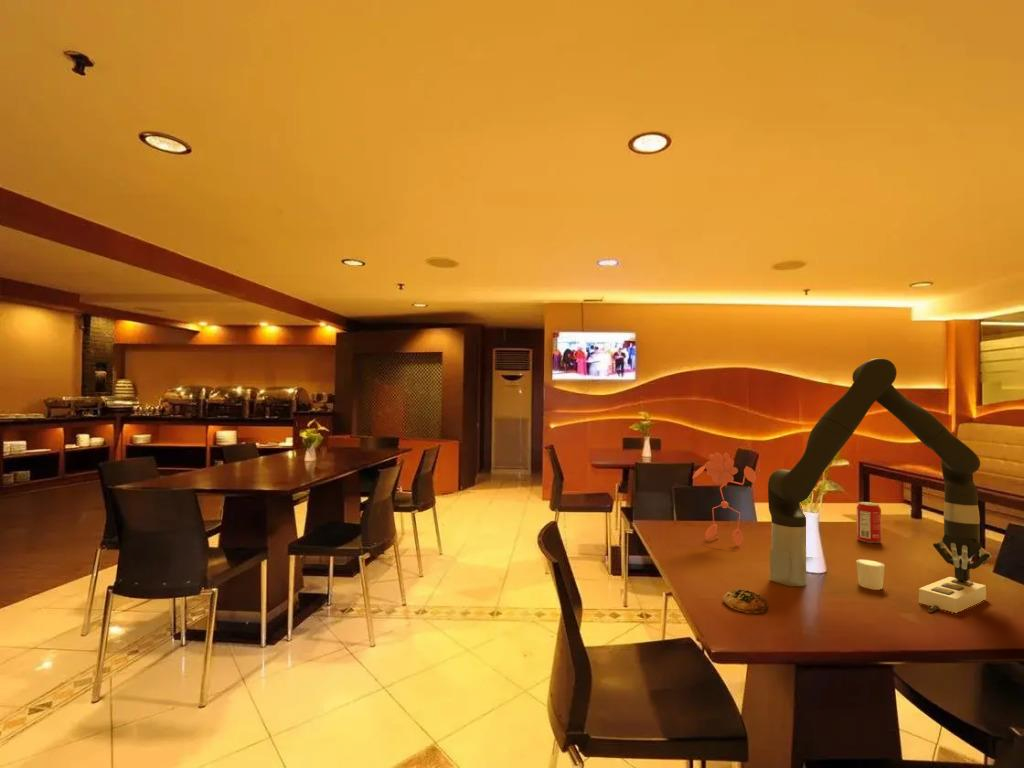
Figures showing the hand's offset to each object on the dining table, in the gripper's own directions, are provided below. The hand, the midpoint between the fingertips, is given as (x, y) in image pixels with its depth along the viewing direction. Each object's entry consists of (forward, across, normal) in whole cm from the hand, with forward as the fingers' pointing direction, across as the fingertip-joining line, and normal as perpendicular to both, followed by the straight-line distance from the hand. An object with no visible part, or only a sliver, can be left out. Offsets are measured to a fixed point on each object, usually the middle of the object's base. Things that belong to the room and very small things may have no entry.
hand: (962, 581), depth 141 cm
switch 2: (+2, 0, 0) cm, 2 cm away
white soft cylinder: (+5, -17, -14) cm, 22 cm away
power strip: (+4, 0, -9) cm, 10 cm away
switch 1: (+3, 0, -13) cm, 13 cm away
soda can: (+5, -42, +41) cm, 59 cm away
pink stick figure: (+4, -67, -16) cm, 69 cm away
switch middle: (+3, 0, -7) cm, 7 cm away
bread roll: (+5, -26, -60) cm, 66 cm away
